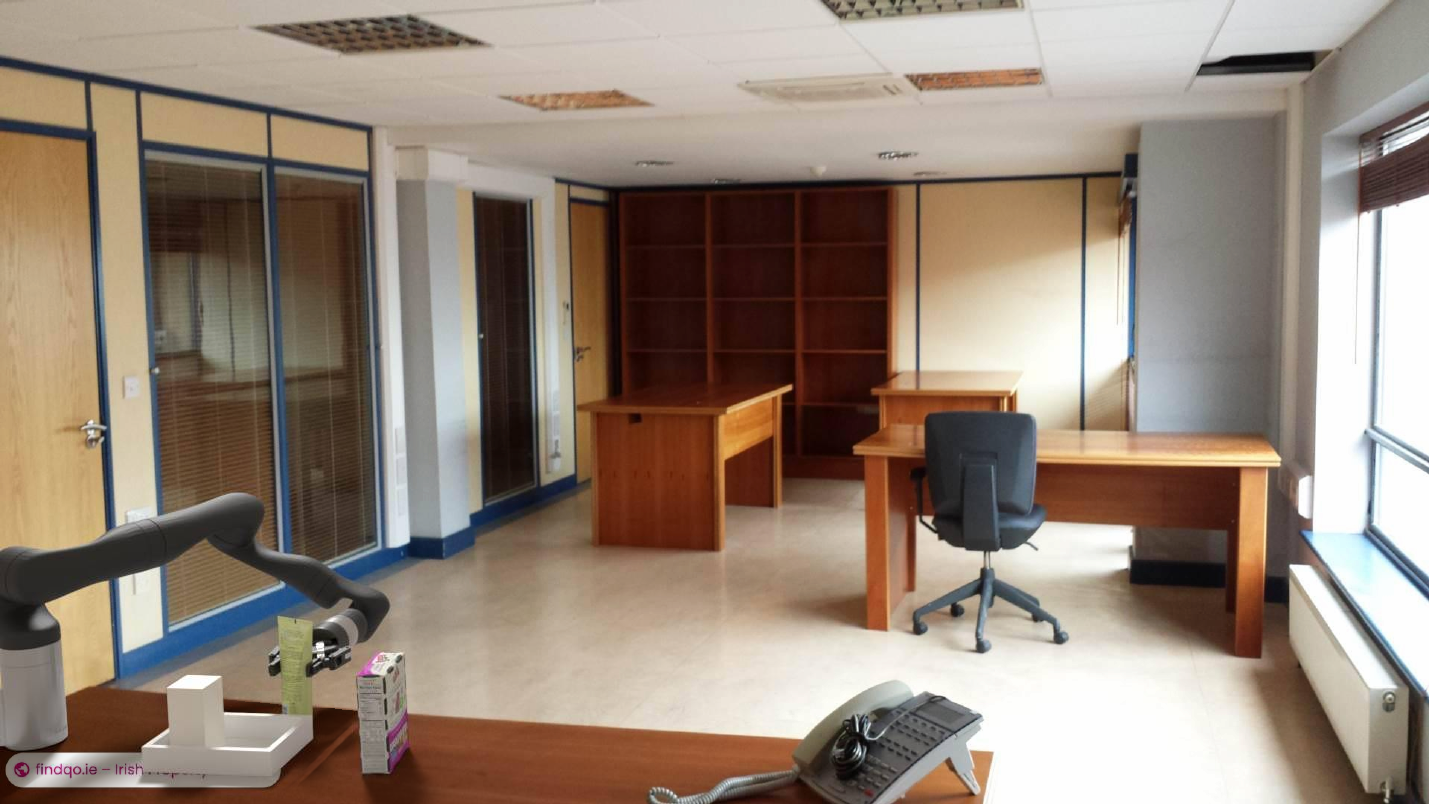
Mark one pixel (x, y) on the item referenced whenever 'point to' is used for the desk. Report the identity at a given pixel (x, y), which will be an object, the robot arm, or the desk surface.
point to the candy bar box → (382, 712)
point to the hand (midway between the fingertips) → (289, 671)
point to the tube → (295, 665)
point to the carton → (196, 711)
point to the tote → (235, 747)
